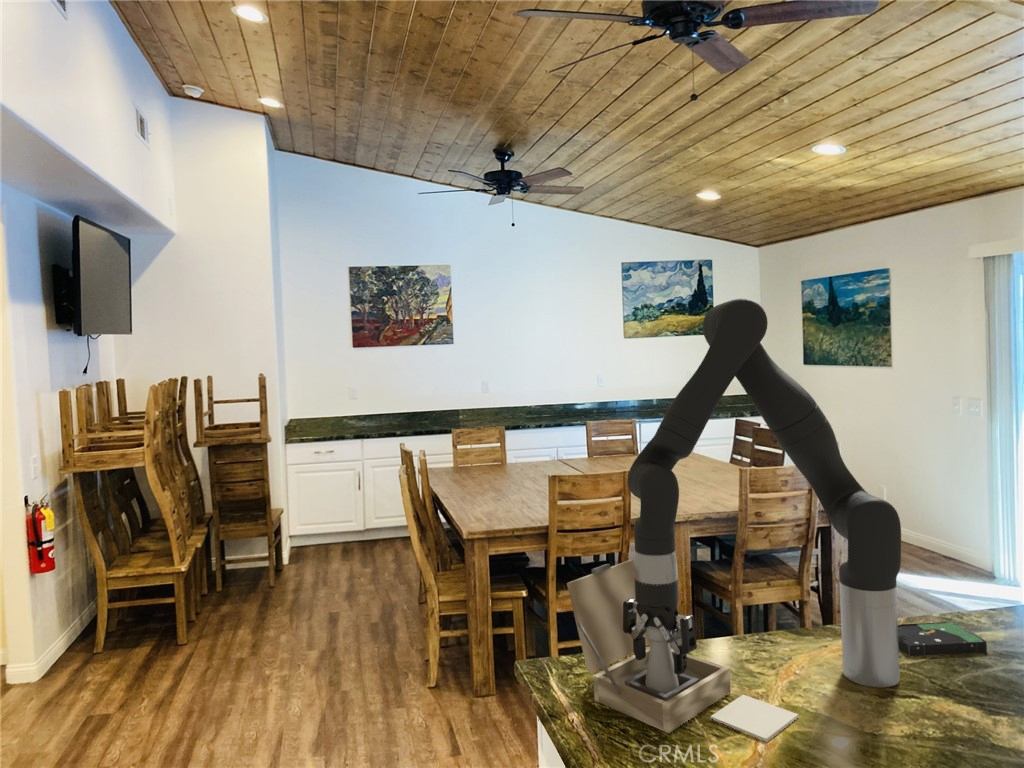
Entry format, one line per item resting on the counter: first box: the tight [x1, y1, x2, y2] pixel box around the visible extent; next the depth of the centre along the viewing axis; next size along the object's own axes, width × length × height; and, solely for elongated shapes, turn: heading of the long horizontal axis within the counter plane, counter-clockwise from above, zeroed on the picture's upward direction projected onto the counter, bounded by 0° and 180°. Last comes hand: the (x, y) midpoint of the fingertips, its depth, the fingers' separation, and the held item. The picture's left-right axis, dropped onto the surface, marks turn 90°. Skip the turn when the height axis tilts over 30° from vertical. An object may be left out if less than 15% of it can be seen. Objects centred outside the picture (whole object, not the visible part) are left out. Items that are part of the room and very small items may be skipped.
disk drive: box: [898, 621, 988, 657], centre depth 141 cm, size 10×3×15 cm
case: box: [576, 622, 732, 734], centre depth 126 cm, size 19×18×14 cm
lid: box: [566, 558, 651, 674], centre depth 133 cm, size 18×17×1 cm
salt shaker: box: [645, 626, 679, 694], centre depth 125 cm, size 6×6×13 cm
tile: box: [710, 694, 799, 743], centre depth 117 cm, size 10×10×1 cm
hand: (659, 665), depth 126 cm, fingers open, 8 cm apart
